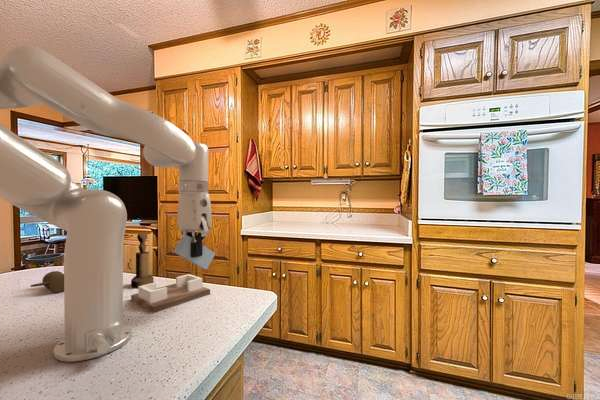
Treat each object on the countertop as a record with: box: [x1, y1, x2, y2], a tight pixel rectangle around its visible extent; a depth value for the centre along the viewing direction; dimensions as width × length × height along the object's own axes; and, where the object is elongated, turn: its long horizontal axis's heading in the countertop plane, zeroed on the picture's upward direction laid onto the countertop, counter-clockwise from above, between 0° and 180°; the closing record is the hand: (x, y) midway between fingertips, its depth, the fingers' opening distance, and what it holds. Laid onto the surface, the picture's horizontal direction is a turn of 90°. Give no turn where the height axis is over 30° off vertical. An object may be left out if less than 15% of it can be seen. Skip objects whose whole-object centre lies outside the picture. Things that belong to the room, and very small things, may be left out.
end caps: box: [137, 273, 203, 303], centre depth 80 cm, size 8×16×3 cm, turn 143°
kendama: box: [29, 270, 64, 294], centre depth 90 cm, size 6×10×20 cm
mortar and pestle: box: [130, 232, 155, 289], centre depth 91 cm, size 7×6×18 cm
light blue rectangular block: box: [172, 235, 216, 270], centre depth 73 cm, size 3×10×5 cm
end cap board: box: [130, 282, 211, 313], centre depth 80 cm, size 14×17×2 cm
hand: (193, 255), depth 73 cm, fingers closed on light blue rectangular block, 2 cm apart
